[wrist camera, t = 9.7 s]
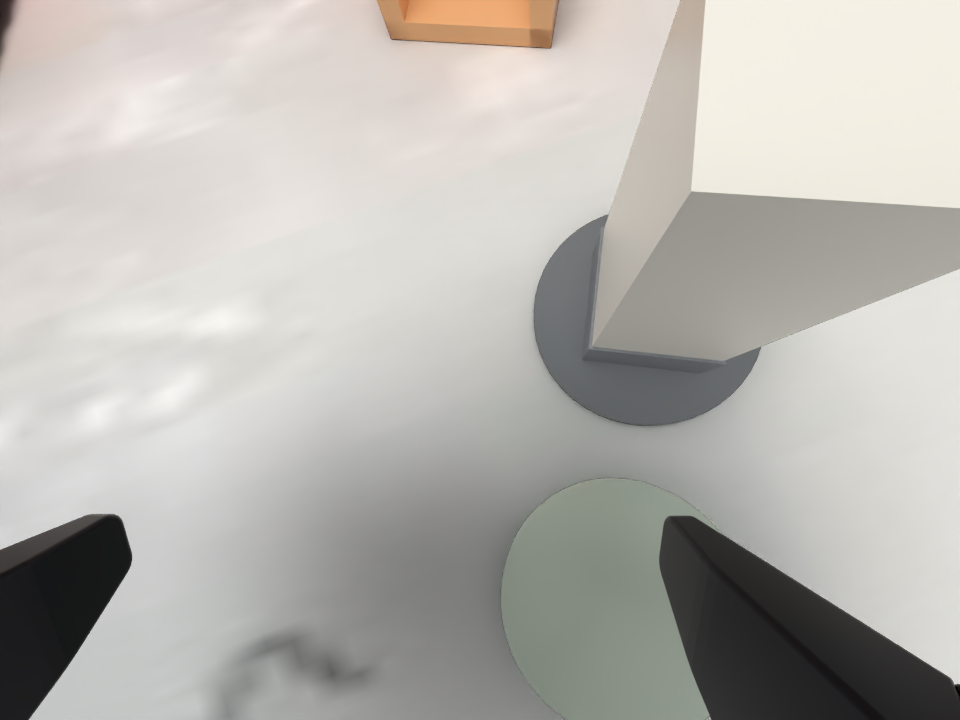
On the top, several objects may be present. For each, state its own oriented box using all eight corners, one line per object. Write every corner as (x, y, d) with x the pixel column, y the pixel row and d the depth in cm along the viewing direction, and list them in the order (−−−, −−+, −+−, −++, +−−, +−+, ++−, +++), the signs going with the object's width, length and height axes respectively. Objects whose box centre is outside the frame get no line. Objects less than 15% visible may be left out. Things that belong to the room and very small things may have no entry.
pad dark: (794, 381, 18) (806, 378, 18) (578, 455, 19) (580, 456, 18) (700, 187, 20) (707, 177, 19) (505, 260, 21) (503, 253, 20)
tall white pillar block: (701, 373, 18) (1103, 225, 5) (581, 360, 19) (681, 198, 6) (709, 261, 19) (1083, -112, 6) (593, 252, 19) (705, -104, 7)
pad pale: (784, 686, 17) (796, 698, 16) (549, 758, 17) (549, 773, 16) (683, 446, 18) (689, 447, 18) (471, 519, 19) (469, 522, 18)
